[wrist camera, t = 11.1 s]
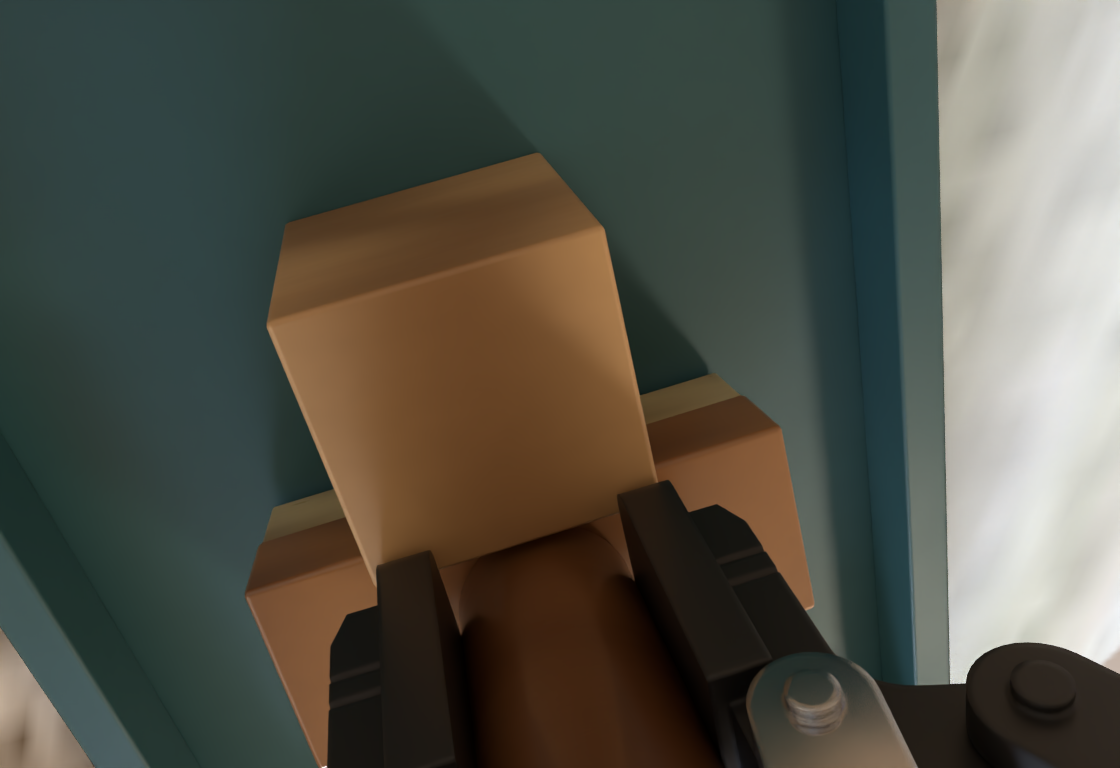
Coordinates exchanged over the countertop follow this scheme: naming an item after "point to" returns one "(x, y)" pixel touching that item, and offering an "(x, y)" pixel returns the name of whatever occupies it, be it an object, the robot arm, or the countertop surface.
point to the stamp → (547, 604)
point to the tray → (398, 164)
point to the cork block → (462, 363)
